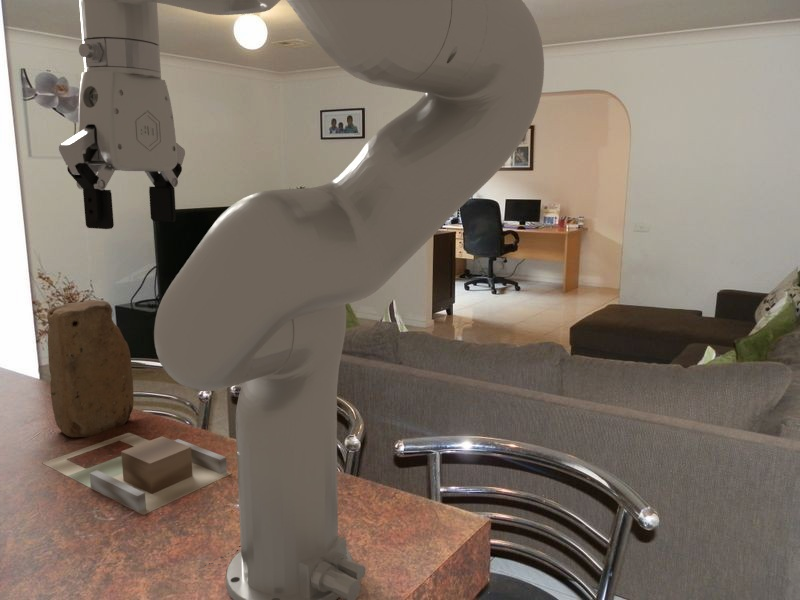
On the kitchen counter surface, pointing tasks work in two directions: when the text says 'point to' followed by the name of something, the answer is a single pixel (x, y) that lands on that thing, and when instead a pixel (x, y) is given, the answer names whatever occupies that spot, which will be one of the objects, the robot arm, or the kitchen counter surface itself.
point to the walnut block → (156, 464)
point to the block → (88, 369)
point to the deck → (111, 484)
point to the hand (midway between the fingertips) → (133, 224)
